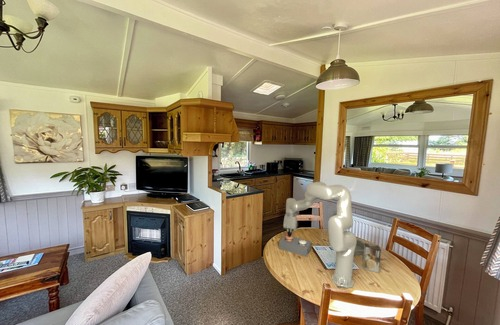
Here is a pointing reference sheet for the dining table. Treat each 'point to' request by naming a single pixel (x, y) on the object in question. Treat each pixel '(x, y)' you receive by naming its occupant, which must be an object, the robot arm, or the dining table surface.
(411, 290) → the dining table surface
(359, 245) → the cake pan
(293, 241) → the console
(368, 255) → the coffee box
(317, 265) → the dining table surface
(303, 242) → the plunger white
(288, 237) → the plunger terracotta
